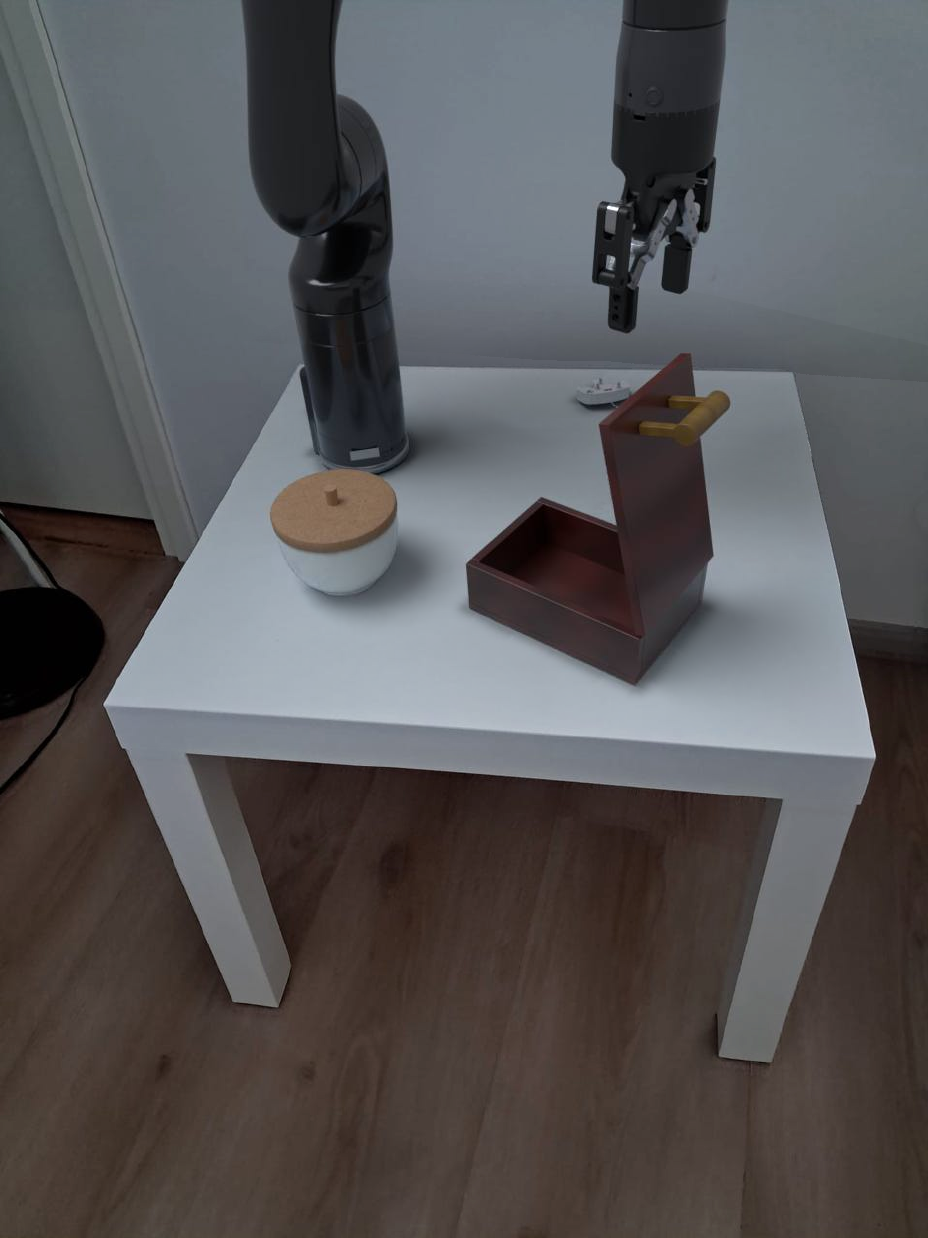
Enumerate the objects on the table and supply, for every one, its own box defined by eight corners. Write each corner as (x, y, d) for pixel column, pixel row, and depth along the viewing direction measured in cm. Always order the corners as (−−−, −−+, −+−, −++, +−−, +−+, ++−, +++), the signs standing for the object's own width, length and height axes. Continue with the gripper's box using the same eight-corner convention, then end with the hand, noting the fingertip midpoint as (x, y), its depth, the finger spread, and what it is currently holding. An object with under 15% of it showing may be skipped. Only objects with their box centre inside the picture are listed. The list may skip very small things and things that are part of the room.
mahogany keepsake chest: (468, 608, 80) (465, 563, 76) (541, 541, 86) (541, 496, 83) (635, 686, 72) (639, 639, 69) (701, 606, 78) (708, 559, 75)
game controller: (609, 382, 106) (610, 361, 105) (676, 426, 99) (678, 405, 97) (568, 397, 104) (569, 376, 103) (633, 443, 97) (635, 421, 95)
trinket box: (388, 620, 79) (374, 532, 73) (269, 608, 81) (246, 521, 75) (418, 542, 87) (408, 456, 81) (308, 533, 89) (290, 448, 83)
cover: (597, 423, 59) (668, 429, 56) (680, 352, 66) (748, 354, 63) (635, 634, 69) (697, 649, 66) (704, 554, 75) (764, 564, 72)
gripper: (670, 63, 72) (652, 270, 84) (567, 111, 65) (562, 332, 76) (761, 75, 69) (729, 289, 80) (663, 126, 61) (643, 356, 72)
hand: (648, 309), depth 78 cm, fingers open, 8 cm apart
